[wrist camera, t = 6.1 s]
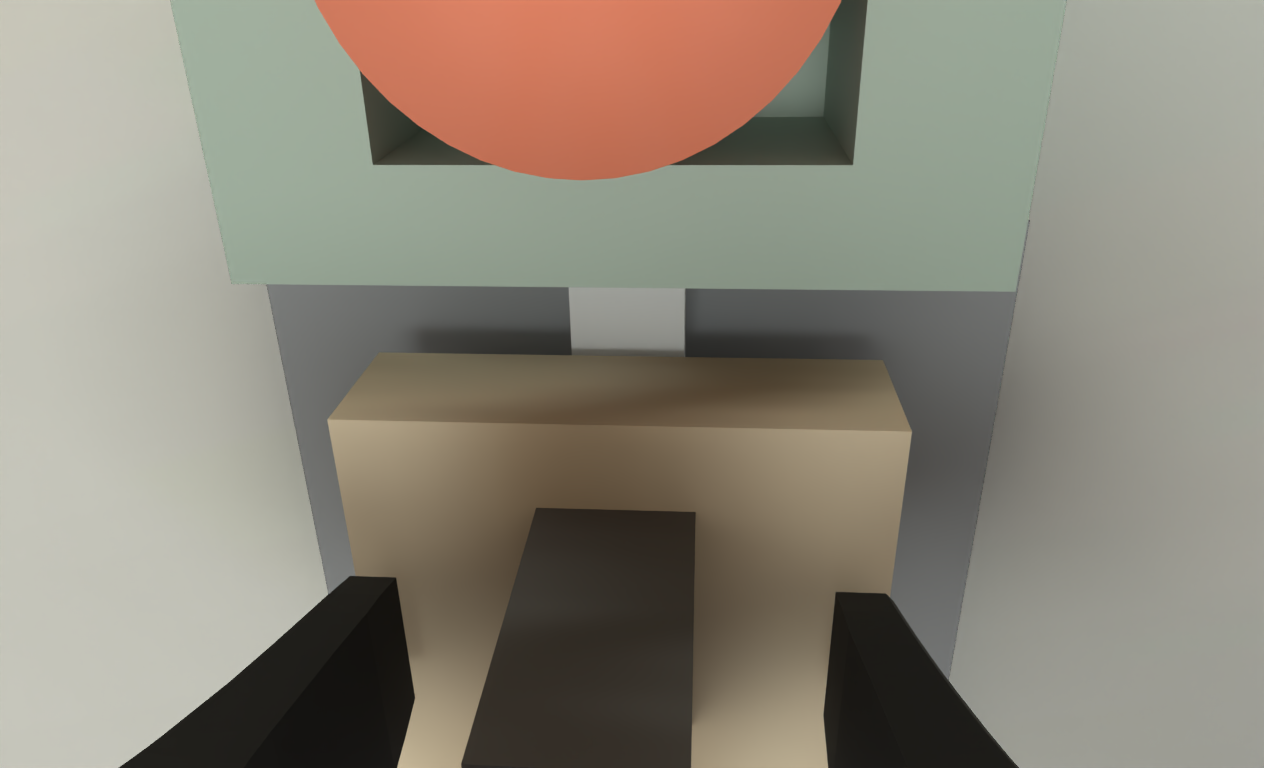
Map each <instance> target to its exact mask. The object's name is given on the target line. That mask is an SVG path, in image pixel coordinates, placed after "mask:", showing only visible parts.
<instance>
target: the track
mask: <svg viewBox="0 0 1264 768" xmlns="http://www.w3.org/2000/svg"><path fill="white" fill-rule="evenodd" d="M1029 222H1030V220H1028V224H1027V230H1026V235H1025V241H1024V247H1023V252H1022V258H1021V264H1020V269H1019V275H1018V281H1017V287H1016V292H996V291H895V290H794V289H694V288H593V287H492V286H391V285H290V284H267V289H268V294H269V299H270V304H271V309H272V314H273V319H274V324H275V329H276V334H277V339H278V344H279V349H280V354H281V359H282V364H283V369H284V374H285V379H286V384H287V389H288V394H289V399H290V404H291V409H292V414H293V419H294V424H295V429H296V434H297V439H298V444H299V449H300V454H301V459H302V464H303V469H304V474H305V479H306V484H307V489H308V494H309V499H310V504H311V509H312V514H313V519H314V524H315V529H316V534H317V539H318V544H319V549H320V554H321V559H322V564H323V569H324V574H325V579H326V584H327V589H328V594H330V593H331V592H332V591H333V590H334V589H335V588H336V587H338V586H339V585H340V584H341V583H342V582H343V581H345V580H346V579H347V578H348V577H349V576H356V575H355V570H354V564H353V559H352V553H351V548H350V542H349V537H348V531H347V526H346V520H345V515H344V509H343V504H342V498H341V493H340V487H339V482H338V476H337V471H336V465H335V460H334V454H333V449H332V443H331V438H330V432H329V427H328V421H327V419H328V418H329V417H330V415H331V414H332V413H333V411H334V410H335V409H336V408H337V406H338V405H339V404H340V402H341V401H342V400H343V398H344V397H345V396H346V395H347V393H348V392H349V391H350V389H351V388H352V387H353V385H354V384H355V383H356V382H357V380H358V379H359V378H360V376H361V375H362V374H363V372H364V371H365V370H366V369H367V367H368V366H369V365H370V363H371V362H372V361H373V359H374V358H375V357H376V356H377V354H378V353H379V352H385V353H451V354H517V355H583V356H649V357H714V358H780V359H846V360H883V362H884V364H885V366H886V369H887V371H888V374H889V376H890V379H891V381H892V384H893V386H894V389H895V391H896V393H897V396H898V398H899V401H900V403H901V406H902V408H903V411H904V413H905V416H906V418H907V421H908V423H909V425H910V428H911V430H912V435H911V443H910V450H909V458H908V465H907V473H906V481H905V488H904V496H903V503H902V511H901V518H900V526H899V533H898V541H897V548H896V556H895V563H894V571H893V578H892V586H891V593H890V598H891V599H892V600H893V601H894V603H895V604H896V606H897V607H898V609H899V610H900V612H901V613H902V615H903V616H904V618H905V619H906V621H907V622H908V624H909V626H910V627H911V628H912V630H913V631H914V633H915V634H916V636H917V637H918V639H919V640H920V642H921V643H922V645H923V646H924V647H925V649H926V650H927V652H928V653H929V654H930V656H931V657H932V659H933V660H934V661H935V663H936V664H937V666H938V667H939V668H940V670H941V671H942V673H943V674H944V675H945V677H946V678H947V679H948V681H949V675H950V670H951V664H952V658H953V653H954V647H955V641H956V636H957V630H958V624H959V619H960V613H961V607H962V602H963V596H964V590H965V585H966V579H967V573H968V568H969V562H970V556H971V551H972V545H973V539H974V534H975V528H976V522H977V517H978V511H979V505H980V500H981V494H982V488H983V483H984V477H985V471H986V466H987V460H988V454H989V449H990V443H991V437H992V432H993V426H994V420H995V415H996V409H997V403H998V398H999V392H1000V386H1001V381H1002V375H1003V369H1004V364H1005V358H1006V353H1007V347H1008V341H1009V336H1010V330H1011V324H1012V319H1013V313H1014V307H1015V302H1016V296H1017V290H1018V285H1019V279H1020V273H1021V268H1022V262H1023V256H1024V251H1025V245H1026V239H1027V234H1028V228H1029Z"/></svg>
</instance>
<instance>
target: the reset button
mask: <svg viewBox="0 0 1264 768" xmlns="http://www.w3.org/2000/svg"><path fill="white" fill-rule="evenodd" d="M315 2H316V4H317V7H318V9H319V10H320V12H321V14H322V15H323V17H324V19H325V20H326V22H327V24H328V25H329V27H330V29H331V30H332V32H333V34H334V35H335V37H336V39H337V40H338V42H339V44H340V45H341V46H342V48H343V49H344V50H345V51H346V53H347V54H348V55H349V57H350V58H351V59H352V61H353V62H354V63H355V65H356V66H357V67H358V68H359V70H360V71H361V72H362V74H363V75H364V76H365V77H366V78H367V79H368V80H369V81H370V82H371V83H372V84H373V85H374V86H375V87H376V88H377V89H378V90H379V92H380V93H381V94H382V95H383V96H384V97H385V98H386V99H387V100H388V101H389V102H390V103H391V104H393V105H394V106H395V107H396V108H398V109H399V110H400V111H401V112H402V113H404V114H405V115H406V116H407V117H408V118H410V119H411V120H412V121H413V122H415V123H416V124H417V125H418V126H420V127H421V128H423V129H424V130H426V131H428V132H429V133H431V134H432V135H434V136H435V137H437V138H438V139H440V140H442V141H443V142H445V143H446V144H448V145H450V146H452V147H454V148H456V149H458V150H460V151H462V152H464V153H466V154H468V155H470V156H472V157H475V158H477V159H479V160H481V161H484V162H487V163H490V164H493V165H496V166H499V167H502V168H505V169H508V170H511V171H514V172H519V173H524V174H529V175H534V176H539V177H544V178H552V179H567V180H596V179H612V178H619V177H624V176H629V175H634V174H640V173H645V172H649V171H652V170H655V169H658V168H661V167H664V166H667V165H670V164H673V163H676V162H679V161H682V160H684V159H686V158H688V157H690V156H692V155H694V154H696V153H698V152H700V151H702V150H704V149H706V148H708V147H710V146H712V145H714V144H716V143H717V142H719V141H720V140H722V139H723V138H725V137H726V136H728V135H729V134H731V133H732V132H734V131H735V130H737V129H738V128H740V127H741V126H743V125H744V124H745V123H747V122H748V121H749V120H750V119H751V118H752V117H754V116H755V115H756V114H757V113H758V112H759V111H761V110H762V109H763V108H764V107H765V106H766V105H767V104H769V103H770V102H771V101H772V100H773V99H774V98H775V97H776V96H777V95H778V93H779V92H780V91H781V90H782V89H783V88H784V87H785V86H786V85H787V83H788V82H789V81H790V80H791V79H792V78H793V77H794V76H795V75H796V74H797V72H798V71H799V70H800V68H801V67H802V65H803V64H804V63H805V61H806V60H807V58H808V57H809V56H810V54H811V53H812V51H813V50H814V48H815V47H816V46H817V44H818V43H819V41H820V40H821V38H822V36H823V35H824V33H825V31H826V29H827V27H828V25H829V23H830V21H831V20H832V18H833V16H834V14H835V12H836V10H837V8H838V7H839V5H840V3H841V0H315Z"/></svg>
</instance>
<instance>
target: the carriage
mask: <svg viewBox="0 0 1264 768" xmlns="http://www.w3.org/2000/svg"><path fill="white" fill-rule="evenodd" d="M327 421H328V427H329V432H330V438H331V443H332V449H333V454H334V460H335V465H336V471H337V476H338V482H339V487H340V493H341V498H342V504H343V509H344V515H345V520H346V526H347V531H348V537H349V542H350V548H351V553H352V559H353V564H354V570H355V575H356V576H369V577H396V580H397V586H398V592H399V599H400V605H401V611H402V617H403V624H404V630H405V636H406V643H407V649H408V655H409V662H410V668H411V674H412V681H413V687H414V693H415V701H414V705H413V709H412V713H411V717H410V721H409V725H408V729H407V733H406V737H405V741H404V744H403V748H402V752H401V755H400V759H399V762H398V766H397V768H828V761H827V750H826V739H825V728H824V717H823V713H824V703H825V693H826V683H827V674H828V664H829V654H830V644H831V634H832V624H833V614H834V604H835V594H836V592H857V593H886V594H887V595H888V596H889V597H890V593H891V586H892V578H893V571H894V563H895V556H896V548H897V541H898V533H899V526H900V518H901V511H902V503H903V496H904V488H905V481H906V473H907V465H908V458H909V450H910V443H911V435H912V430H911V428H910V425H909V423H908V421H907V418H906V416H905V413H904V411H903V408H902V406H901V403H900V401H899V398H898V396H897V393H896V391H895V389H894V386H893V384H892V381H891V379H890V376H889V374H888V371H887V369H886V366H885V364H884V362H883V360H846V359H780V358H714V357H649V356H583V355H517V354H451V353H385V352H379V353H378V354H377V356H376V357H375V358H374V359H373V361H372V362H371V363H370V365H369V366H368V367H367V369H366V370H365V371H364V372H363V374H362V375H361V376H360V378H359V379H358V380H357V382H356V383H355V384H354V385H353V387H352V388H351V389H350V391H349V392H348V393H347V395H346V396H345V397H344V398H343V400H342V401H341V402H340V404H339V405H338V406H337V408H336V409H335V410H334V411H333V413H332V414H331V415H330V417H329V418H328V419H327Z"/></svg>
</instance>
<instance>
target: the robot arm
mask: <svg viewBox="0 0 1264 768" xmlns="http://www.w3.org/2000/svg"><path fill="white" fill-rule="evenodd" d="M414 701H415V693H414V687H413V681H412V674H411V668H410V662H409V655H408V649H407V643H406V636H405V630H404V624H403V617H402V611H401V605H400V599H399V592H398V586H397V580H396V577H369V576H349V577H348V578H347V579H346V580H345V581H343V582H342V583H341V584H340V585H339V586H338V587H336V588H335V589H334V590H333V591H332V592H331V593H330V594H328V595H327V596H326V597H325V598H324V599H323V600H322V601H321V602H320V603H318V604H317V605H316V606H315V607H314V608H313V609H312V610H311V611H310V612H308V613H307V614H306V615H305V616H304V617H303V618H302V619H301V620H300V621H298V622H297V623H296V624H295V625H294V626H293V627H292V628H291V629H290V630H288V631H287V632H286V633H285V634H284V635H283V636H282V637H281V638H279V639H278V640H277V641H276V642H275V643H274V644H273V645H272V646H270V647H269V648H268V649H267V650H266V651H265V652H264V653H262V654H261V655H260V656H259V657H258V658H257V659H256V660H254V661H253V662H252V663H251V664H250V665H249V666H247V667H246V668H245V669H244V670H243V671H242V672H241V673H239V674H238V675H237V676H236V677H235V678H234V679H232V680H231V681H230V682H229V683H228V684H227V685H225V686H224V687H223V688H222V689H220V690H219V691H218V692H217V693H215V694H214V695H213V696H212V697H210V698H209V699H208V700H207V701H205V702H204V703H203V704H202V705H200V706H199V707H198V708H197V709H195V710H194V711H193V712H191V713H190V714H189V715H188V716H186V717H185V718H184V719H183V720H181V721H180V722H179V723H178V724H176V725H175V726H174V727H173V728H171V729H170V730H169V731H168V732H166V733H165V734H164V735H163V736H161V737H160V738H159V739H158V740H156V741H155V742H154V743H152V744H151V745H150V746H148V747H147V748H146V749H144V750H143V751H141V752H140V753H139V754H137V755H136V756H135V757H133V758H132V759H130V760H129V761H128V762H126V763H125V764H123V765H122V766H121V767H119V768H397V766H398V762H399V759H400V755H401V752H402V748H403V744H404V741H405V737H406V733H407V729H408V725H409V721H410V717H411V713H412V709H413V705H414ZM823 717H824V728H825V739H826V750H827V761H828V768H1019V767H1018V766H1017V765H1016V764H1015V763H1014V762H1013V761H1012V759H1011V758H1010V757H1009V756H1008V755H1007V754H1006V752H1005V751H1004V750H1003V749H1002V748H1001V746H1000V745H999V744H998V743H997V742H996V740H995V739H994V738H993V737H992V736H991V734H990V733H989V732H988V731H987V730H986V728H985V727H984V726H983V724H982V723H981V722H980V721H979V719H978V718H977V717H976V716H975V714H974V713H973V712H972V710H971V709H970V708H969V707H968V705H967V704H966V703H965V702H964V700H963V699H962V698H961V696H960V695H959V694H958V693H957V691H956V690H955V689H954V687H953V686H952V685H951V683H950V682H949V681H948V679H947V678H946V677H945V675H944V674H943V673H942V671H941V670H940V668H939V667H938V666H937V664H936V663H935V661H934V660H933V659H932V657H931V656H930V654H929V653H928V652H927V650H926V649H925V647H924V646H923V645H922V643H921V642H920V640H919V639H918V637H917V636H916V634H915V633H914V631H913V630H912V628H911V627H910V626H909V624H908V622H907V621H906V619H905V618H904V616H903V615H902V613H901V612H900V610H899V609H898V607H897V606H896V604H895V603H894V601H893V600H892V599H891V598H890V597H889V596H888V595H887V594H886V593H857V592H836V594H835V604H834V614H833V624H832V634H831V644H830V654H829V664H828V674H827V683H826V693H825V703H824V713H823Z"/></svg>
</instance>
